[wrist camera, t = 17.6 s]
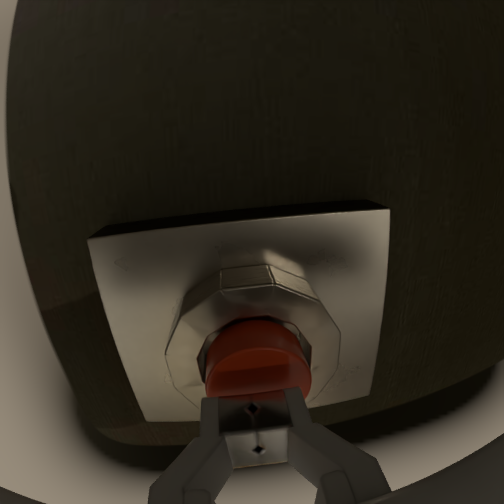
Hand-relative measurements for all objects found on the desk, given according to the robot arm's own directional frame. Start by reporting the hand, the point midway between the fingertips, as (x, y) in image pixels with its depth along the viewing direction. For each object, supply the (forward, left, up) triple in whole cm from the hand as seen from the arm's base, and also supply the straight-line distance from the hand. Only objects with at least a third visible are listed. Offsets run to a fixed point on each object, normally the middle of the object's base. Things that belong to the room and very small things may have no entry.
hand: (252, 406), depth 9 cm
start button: (0, 0, -3) cm, 3 cm away
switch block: (0, 0, -6) cm, 6 cm away
